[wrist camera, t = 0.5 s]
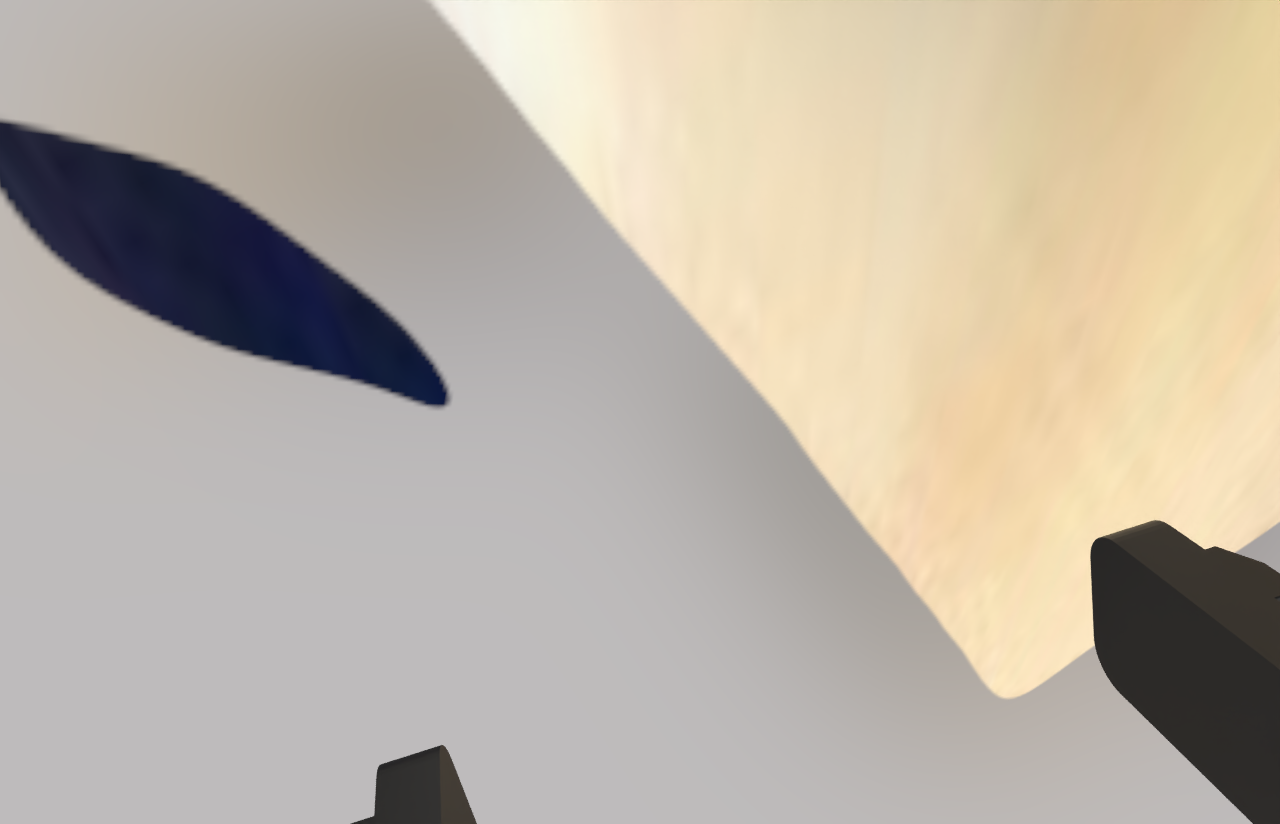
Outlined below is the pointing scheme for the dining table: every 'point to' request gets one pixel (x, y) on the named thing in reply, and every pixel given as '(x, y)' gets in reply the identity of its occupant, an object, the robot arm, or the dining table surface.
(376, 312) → the dining table surface
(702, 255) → the dining table surface
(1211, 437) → the dining table surface
